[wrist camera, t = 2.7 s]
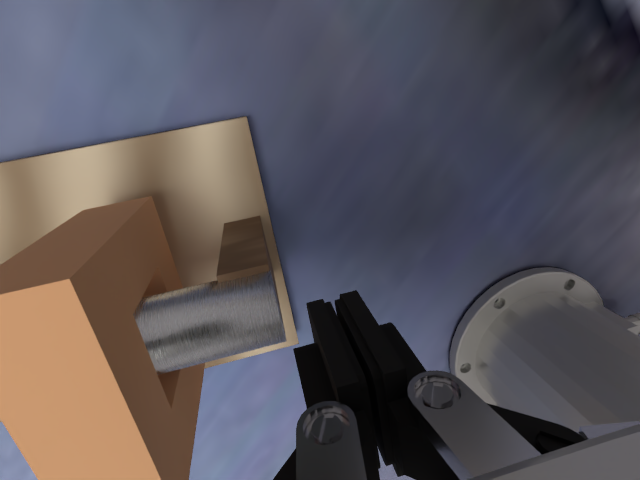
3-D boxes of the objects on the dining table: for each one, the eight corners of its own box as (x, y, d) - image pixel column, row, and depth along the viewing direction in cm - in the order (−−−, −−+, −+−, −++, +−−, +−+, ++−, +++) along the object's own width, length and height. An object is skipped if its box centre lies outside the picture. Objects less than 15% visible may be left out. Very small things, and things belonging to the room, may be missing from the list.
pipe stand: (246, 116, 21) (249, 123, 13) (295, 330, 26) (319, 429, 18) (-260, 211, 18) (-648, 293, 10) (-94, 431, 23) (-268, 601, 15)
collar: (151, 195, 17) (69, 279, 9) (206, 356, 21) (182, 525, 12) (83, 209, 17) (-68, 309, 9) (149, 370, 20) (85, 555, 12)
